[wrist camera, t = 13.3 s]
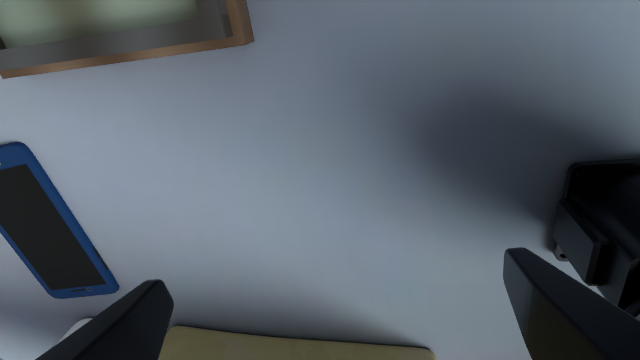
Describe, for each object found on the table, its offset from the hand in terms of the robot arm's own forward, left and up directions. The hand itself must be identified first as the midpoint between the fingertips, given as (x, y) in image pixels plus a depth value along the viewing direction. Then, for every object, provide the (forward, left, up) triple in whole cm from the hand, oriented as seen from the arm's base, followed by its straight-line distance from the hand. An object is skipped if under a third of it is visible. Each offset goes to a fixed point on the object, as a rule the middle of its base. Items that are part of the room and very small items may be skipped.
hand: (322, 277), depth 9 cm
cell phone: (+25, +7, -13) cm, 29 cm away
